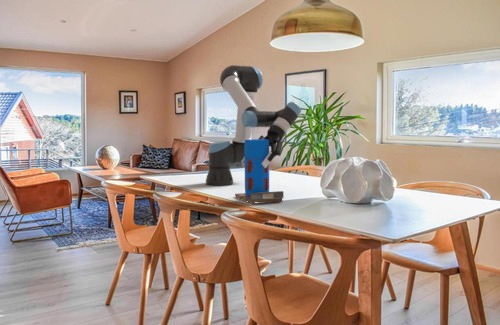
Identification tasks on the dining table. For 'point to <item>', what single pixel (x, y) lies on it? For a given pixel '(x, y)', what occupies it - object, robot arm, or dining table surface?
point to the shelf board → (262, 197)
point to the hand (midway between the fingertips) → (253, 164)
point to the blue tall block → (256, 166)
